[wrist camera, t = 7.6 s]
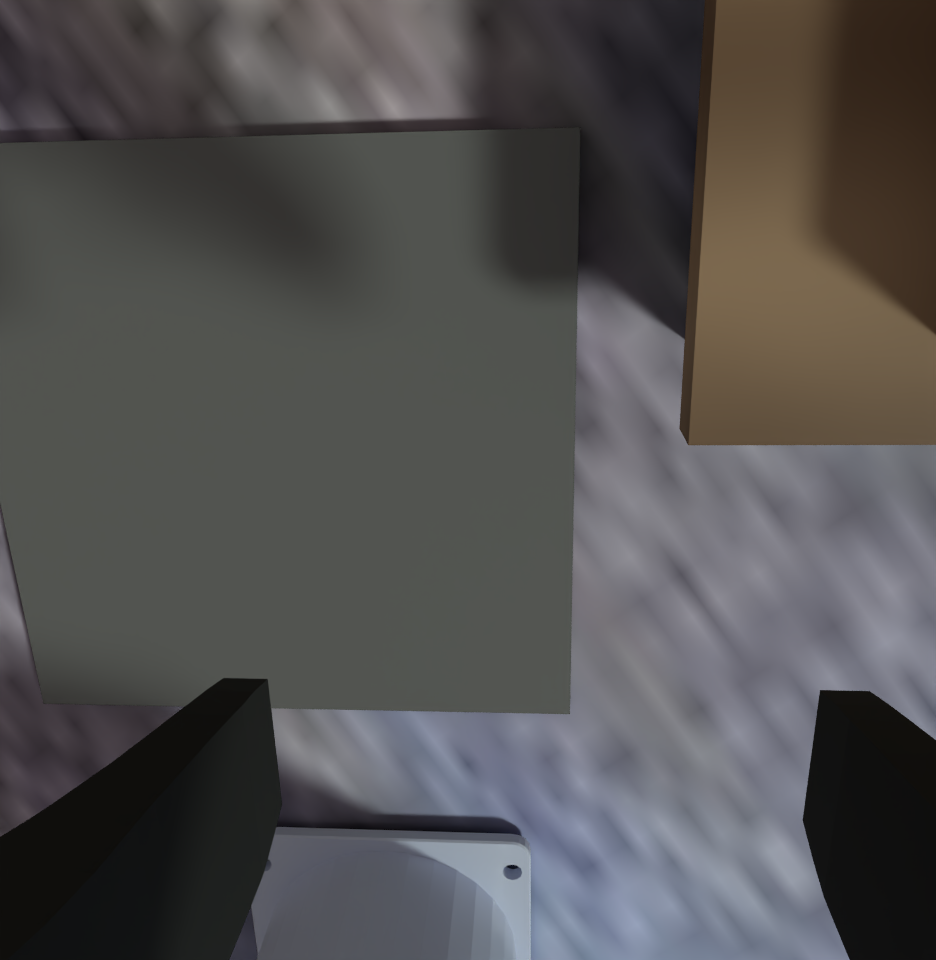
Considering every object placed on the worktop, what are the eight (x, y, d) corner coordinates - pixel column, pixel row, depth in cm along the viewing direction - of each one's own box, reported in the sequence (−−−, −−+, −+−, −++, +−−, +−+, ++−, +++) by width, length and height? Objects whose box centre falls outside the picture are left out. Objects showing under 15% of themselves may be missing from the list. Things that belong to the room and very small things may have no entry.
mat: (568, 704, 23) (569, 714, 23) (51, 695, 24) (43, 703, 24) (579, 127, 19) (580, 127, 18) (-66, 145, 20) (-78, 144, 19)
